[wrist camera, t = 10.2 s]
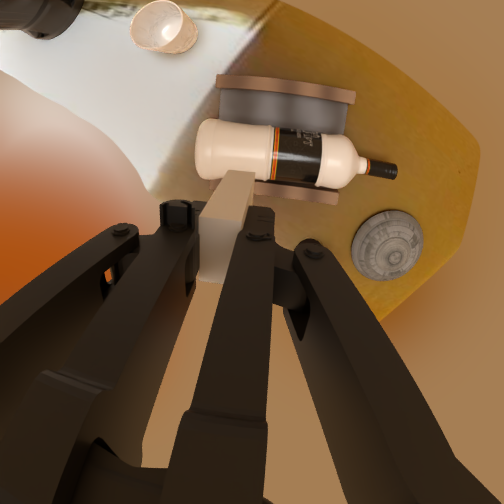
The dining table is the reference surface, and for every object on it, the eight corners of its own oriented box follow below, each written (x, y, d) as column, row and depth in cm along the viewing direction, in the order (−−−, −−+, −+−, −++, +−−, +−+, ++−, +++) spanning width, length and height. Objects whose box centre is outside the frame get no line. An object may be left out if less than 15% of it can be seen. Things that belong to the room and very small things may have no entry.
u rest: (215, 180, 49) (209, 189, 45) (223, 76, 41) (216, 74, 36) (331, 195, 49) (336, 205, 44) (348, 92, 40) (356, 91, 36)
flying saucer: (420, 202, 48) (432, 213, 43) (419, 269, 55) (428, 284, 50) (346, 215, 51) (352, 227, 46) (352, 282, 58) (358, 299, 53)
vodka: (190, 174, 38) (407, 199, 37) (198, 109, 36) (408, 137, 36) (203, 182, 47) (382, 201, 46) (210, 128, 46) (385, 149, 45)
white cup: (209, 21, 36) (192, 4, 27) (191, 61, 39) (169, 54, 31) (167, 12, 35) (142, -3, 26) (150, 51, 39) (121, 44, 30)
